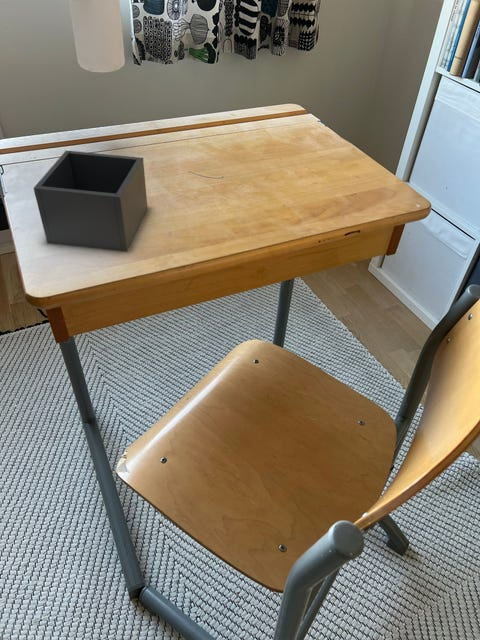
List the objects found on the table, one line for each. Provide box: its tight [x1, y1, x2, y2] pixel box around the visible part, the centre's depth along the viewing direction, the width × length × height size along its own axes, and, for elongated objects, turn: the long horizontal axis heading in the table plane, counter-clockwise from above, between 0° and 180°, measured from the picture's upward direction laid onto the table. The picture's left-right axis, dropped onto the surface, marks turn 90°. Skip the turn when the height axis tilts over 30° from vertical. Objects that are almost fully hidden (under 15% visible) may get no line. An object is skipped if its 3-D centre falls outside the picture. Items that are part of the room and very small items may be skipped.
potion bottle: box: [68, 0, 126, 73], centre depth 87 cm, size 8×8×18 cm
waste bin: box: [33, 150, 149, 253], centre depth 80 cm, size 13×13×10 cm
